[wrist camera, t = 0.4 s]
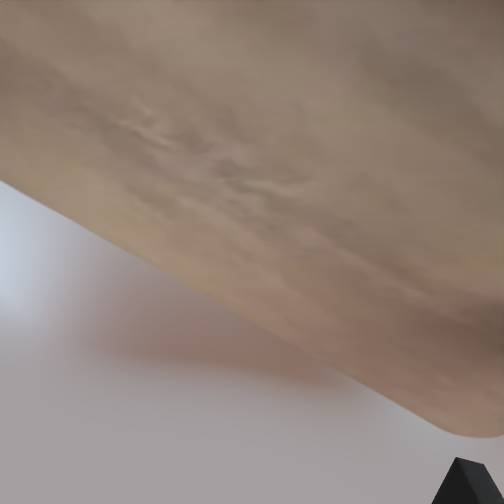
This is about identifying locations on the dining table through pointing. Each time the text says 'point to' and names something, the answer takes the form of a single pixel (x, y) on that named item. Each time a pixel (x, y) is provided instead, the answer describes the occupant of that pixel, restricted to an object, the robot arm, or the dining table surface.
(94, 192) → the dining table surface
